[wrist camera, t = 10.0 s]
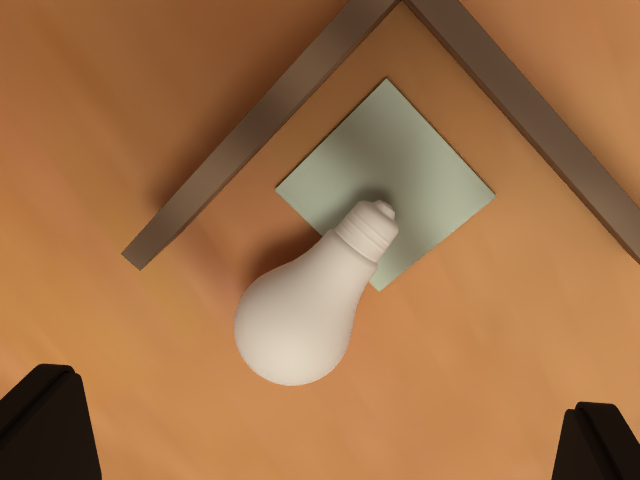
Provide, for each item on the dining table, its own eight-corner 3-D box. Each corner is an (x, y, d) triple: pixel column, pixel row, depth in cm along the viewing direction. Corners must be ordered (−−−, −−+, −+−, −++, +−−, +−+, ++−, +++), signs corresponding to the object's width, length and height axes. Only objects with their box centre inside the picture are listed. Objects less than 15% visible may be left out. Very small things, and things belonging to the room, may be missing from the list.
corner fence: (385, 422, 33) (384, 486, 28) (163, 219, 30) (120, 253, 25) (651, 240, 26) (705, 284, 22) (403, -43, 23) (405, -61, 19)
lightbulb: (320, 150, 26) (196, 316, 28) (384, 207, 22) (231, 400, 24) (391, 201, 30) (278, 344, 32) (458, 258, 26) (322, 420, 28)
